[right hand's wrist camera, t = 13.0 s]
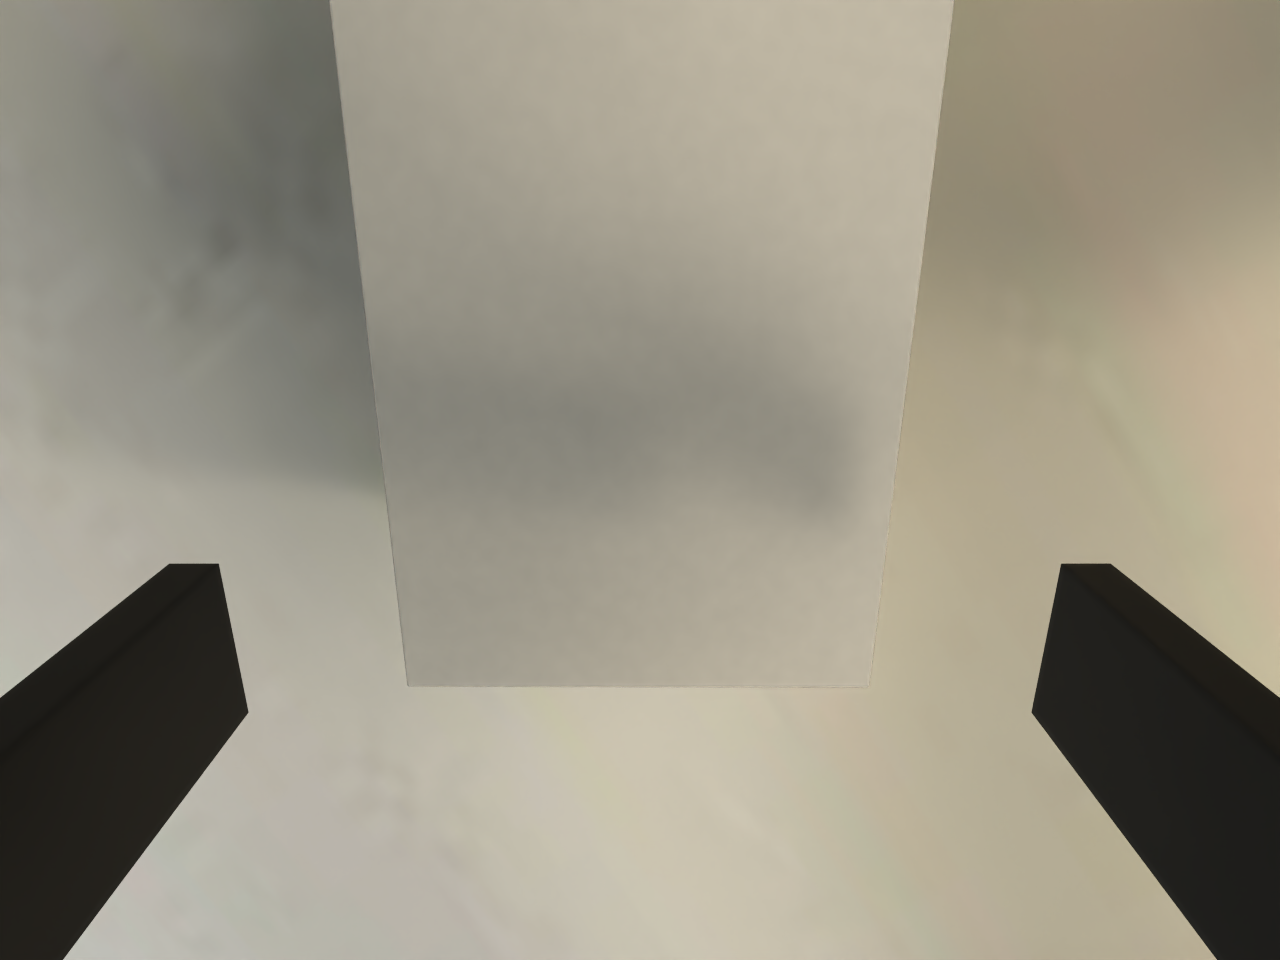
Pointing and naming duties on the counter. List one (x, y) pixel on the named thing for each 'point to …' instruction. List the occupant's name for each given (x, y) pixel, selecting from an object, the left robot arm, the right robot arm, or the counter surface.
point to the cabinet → (640, 326)
